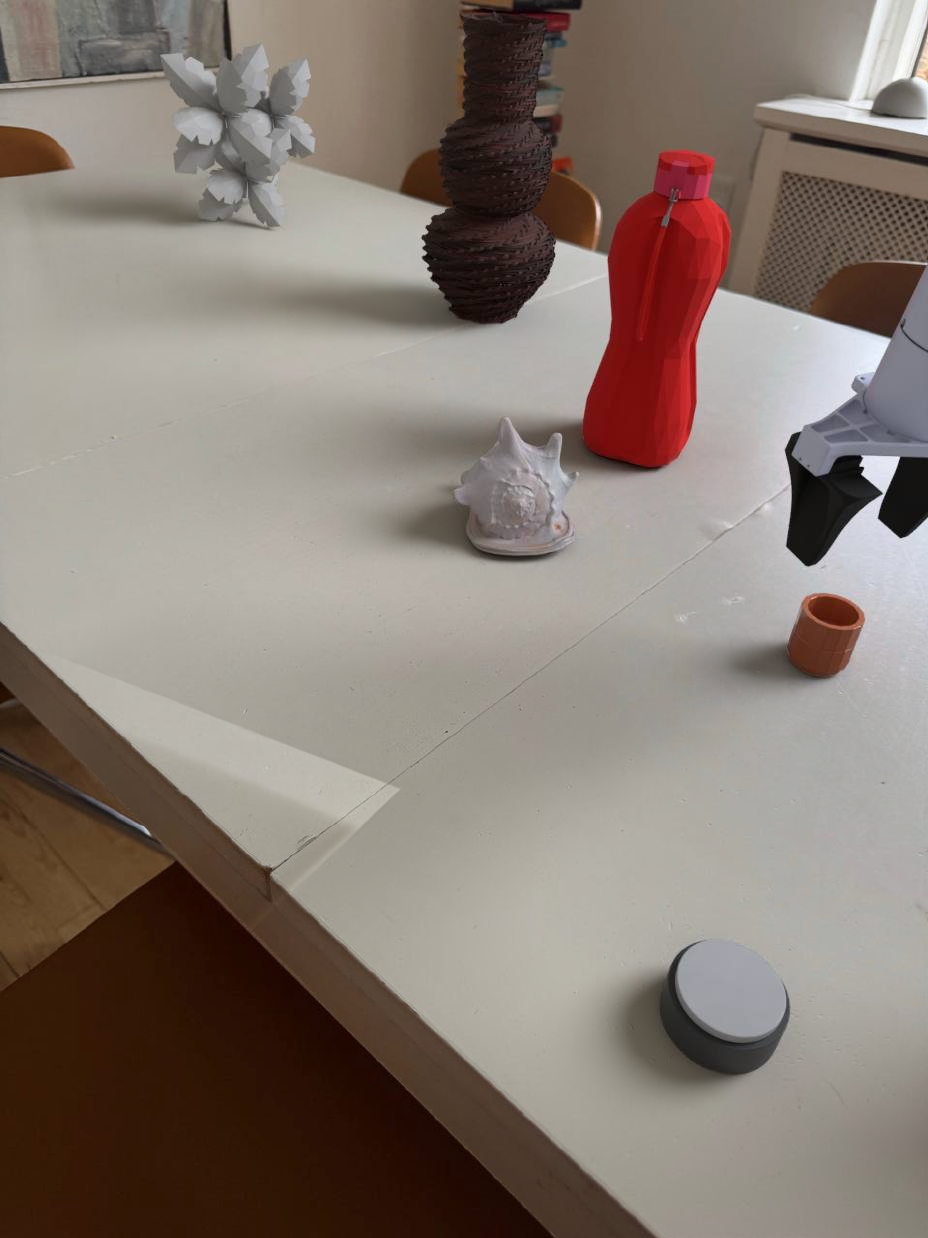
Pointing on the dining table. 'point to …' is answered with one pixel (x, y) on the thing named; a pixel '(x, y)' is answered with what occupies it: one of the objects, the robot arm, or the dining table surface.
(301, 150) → the flower bouquet
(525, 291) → the vase
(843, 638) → the cup
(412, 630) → the dining table surface
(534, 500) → the seashell
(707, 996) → the push button
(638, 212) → the water bottle
